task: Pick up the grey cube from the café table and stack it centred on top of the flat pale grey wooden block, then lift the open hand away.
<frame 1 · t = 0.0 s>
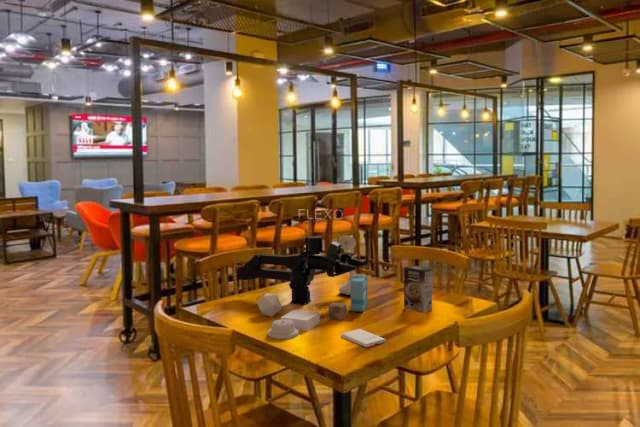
hand: (360, 265, 208), 17 cm above the table, tool horizontal, fingers open, 9 cm apart
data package: (359, 309, 210), on the table
grey cube: (337, 318, 197), on the table
external hard drive: (363, 341, 175), on the table
grey block: (300, 326, 190), on the table
flower in vase: (350, 294, 233), on the table
mechanical component: (283, 335, 181), on the table
die: (269, 315, 203), on the table
coffee box: (418, 309, 208), on the table
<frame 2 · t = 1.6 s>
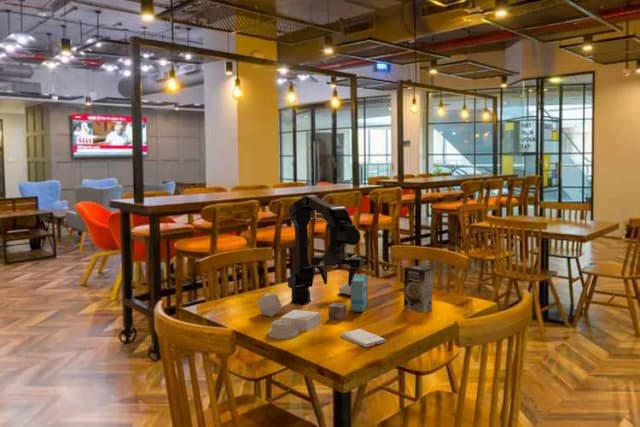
hand: (337, 285, 196), 12 cm above the table, tool pointing down, fingers open, 9 cm apart
nothing on the table moved.
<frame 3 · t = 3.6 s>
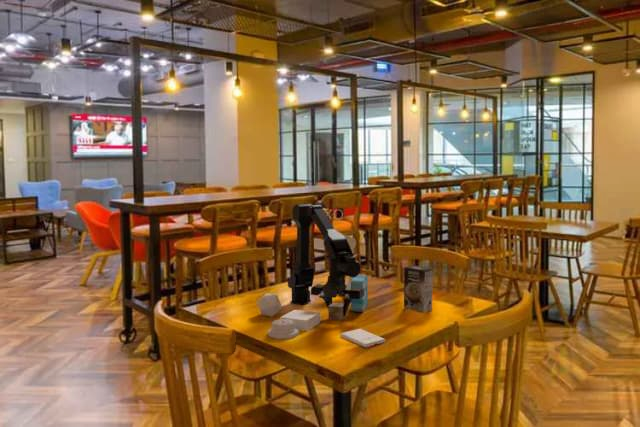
hand: (337, 314, 197), 1 cm above the table, tool pointing down, fingers closed on grey cube, 5 cm apart
grey cube: (337, 318, 197), on the table, touching gripper
everything else where it was.
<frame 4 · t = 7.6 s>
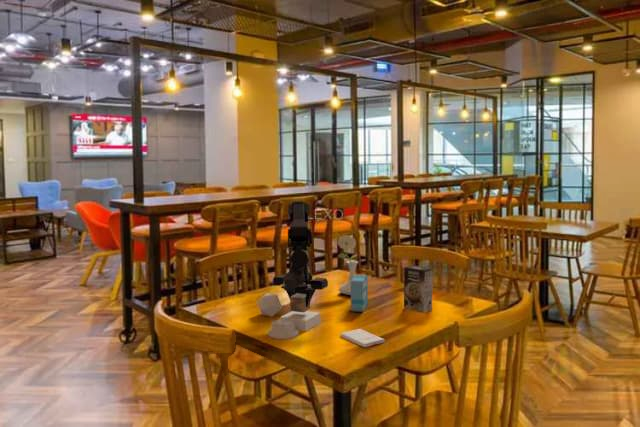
hand: (300, 306, 189), 7 cm above the table, tool pointing down, fingers closed on grey cube, 5 cm apart
grey cube: (300, 309, 190), point 5 cm above the table, touching gripper
everything else where it was.
when the fingers open (6 cm above the table, at t = 8.5 s): grey cube drops 1 cm, point 4 cm above the table.
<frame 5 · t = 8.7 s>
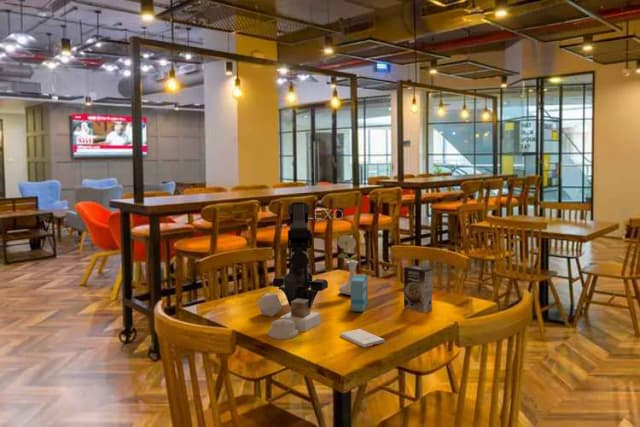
hand: (300, 307, 189), 6 cm above the table, tool pointing down, fingers open, 7 cm apart
grey cube: (300, 314, 190), point 4 cm above the table
everything else where it was.
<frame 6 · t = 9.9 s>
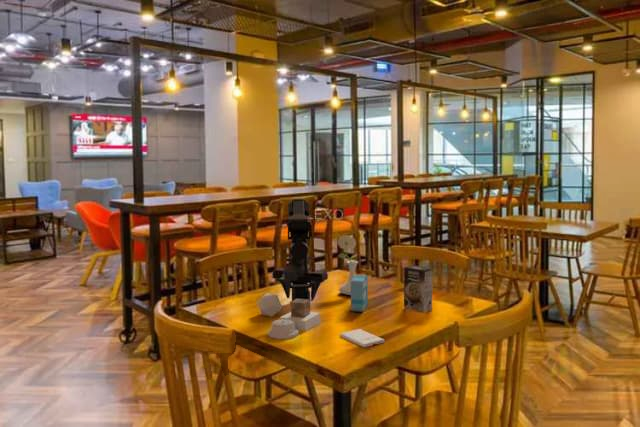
hand: (300, 299, 189), 9 cm above the table, tool pointing down, fingers open, 9 cm apart
grey cube: (300, 315, 190), point 4 cm above the table, touching grey block
grey block: (300, 326, 190), on the table, touching grey cube
everything else where it was.
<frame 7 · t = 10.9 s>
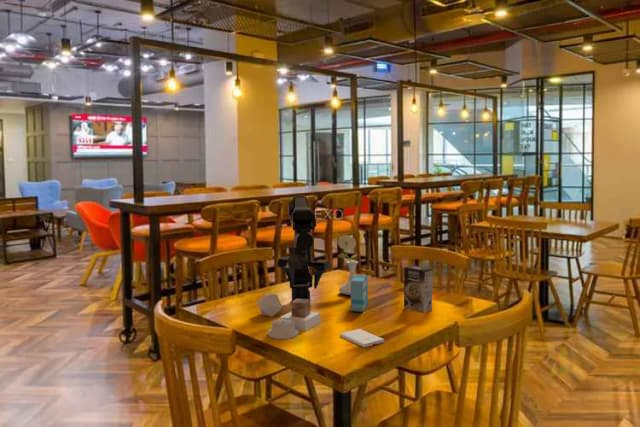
hand: (303, 287, 197), 11 cm above the table, tool pointing down, fingers open, 9 cm apart
nothing on the table moved.
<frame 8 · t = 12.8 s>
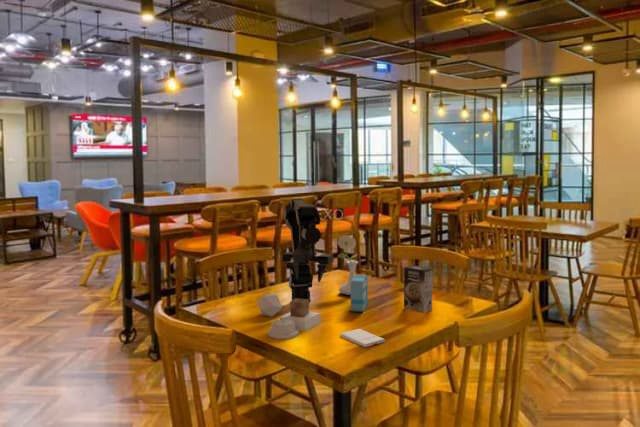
hand: (307, 280, 204), 12 cm above the table, tool pointing down, fingers open, 9 cm apart
nothing on the table moved.
at the end: grey cube 0.3 cm off-centre on the grey block, point 4.0 cm above the grey block's base; grey cube tilted 1°; the gripper is holding nothing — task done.
